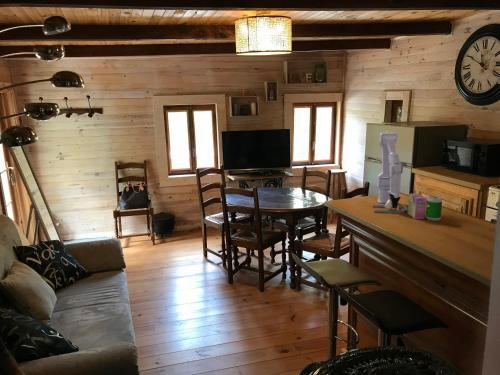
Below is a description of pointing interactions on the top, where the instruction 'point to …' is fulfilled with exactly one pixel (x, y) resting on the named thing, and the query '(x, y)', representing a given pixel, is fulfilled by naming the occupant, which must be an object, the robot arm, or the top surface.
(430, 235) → the top surface
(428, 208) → the soda can
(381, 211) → the lane
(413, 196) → the box
